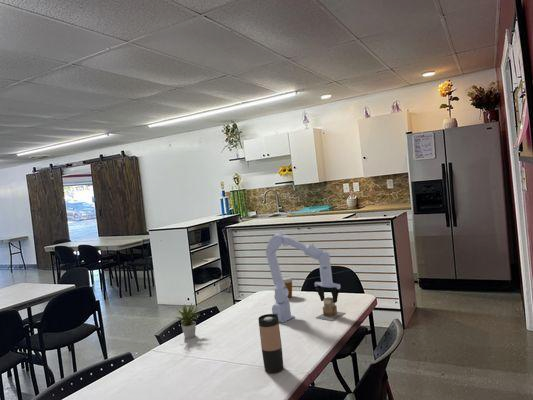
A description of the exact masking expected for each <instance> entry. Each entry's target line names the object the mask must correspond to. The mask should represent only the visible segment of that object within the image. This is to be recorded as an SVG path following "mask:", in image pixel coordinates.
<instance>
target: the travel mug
mask: <svg viewBox="0 0 533 400" xmlns="http://www.w3.org/2000/svg"><path fill="white" fill-rule="evenodd" d="M257 319H258V327H259V329H258V330H259V337H260V338H259V339H260V347H261V355H262V359H263V361H262V362H263V367H264V371H265V373H267V374H269V375H270V374H272V375H273V374H279V373H281V372H283V370H284V358H283V347H282V338H281V331H280V322H279V321H278V316H277V315H276V314H272V313H267V314H263V315H260V316H259V317H258V318H257Z"/></svg>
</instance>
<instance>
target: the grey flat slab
mask: <svg viewBox="0 0 533 400" xmlns="http://www.w3.org/2000/svg"><path fill="white" fill-rule="evenodd" d="M343 314H344V315H346V312H343V311H342V312H341V311H337V315H335V316H333V317H327V316H324V314H323V313H321V314H320V315H317V316H315V319H319V320H323V321H328V322H329V321H330V322H333V321H336V319H339V318H340V317H342V316H344V315H343Z"/></svg>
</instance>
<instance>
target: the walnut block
mask: <svg viewBox="0 0 533 400" xmlns="http://www.w3.org/2000/svg"><path fill="white" fill-rule="evenodd" d="M337 307H338V306H337V305H336V304H335V306H334V307H332V308H328V307H324V306H323V307H322V312H323V313H322V314H324V316H327V317H333V316H335V315H337V312H338V309H337Z"/></svg>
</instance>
